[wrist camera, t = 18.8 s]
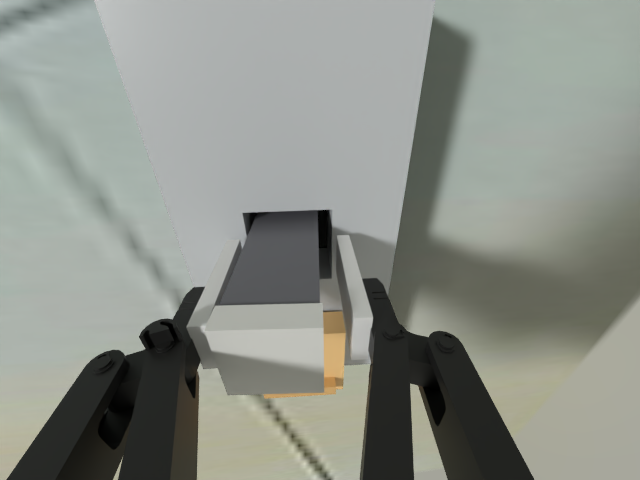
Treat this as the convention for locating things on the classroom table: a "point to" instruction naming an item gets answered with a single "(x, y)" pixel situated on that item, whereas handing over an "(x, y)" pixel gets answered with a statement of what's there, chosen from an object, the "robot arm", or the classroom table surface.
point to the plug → (272, 310)
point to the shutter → (329, 355)
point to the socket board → (276, 117)
